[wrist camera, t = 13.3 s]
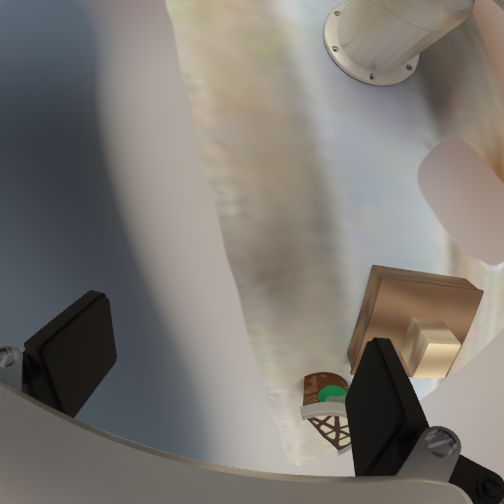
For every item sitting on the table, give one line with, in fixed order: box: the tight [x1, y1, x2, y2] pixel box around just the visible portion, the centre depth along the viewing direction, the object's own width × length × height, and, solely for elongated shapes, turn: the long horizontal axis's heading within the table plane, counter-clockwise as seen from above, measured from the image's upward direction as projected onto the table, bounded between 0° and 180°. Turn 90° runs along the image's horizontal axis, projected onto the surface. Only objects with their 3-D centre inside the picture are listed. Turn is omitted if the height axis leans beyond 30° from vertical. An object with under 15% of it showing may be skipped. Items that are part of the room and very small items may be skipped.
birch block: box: [399, 317, 461, 378], centre depth 31 cm, size 5×5×6 cm
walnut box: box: [347, 265, 484, 377], centre depth 36 cm, size 14×16×5 cm
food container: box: [300, 372, 352, 455], centre depth 39 cm, size 12×6×10 cm, turn 35°
